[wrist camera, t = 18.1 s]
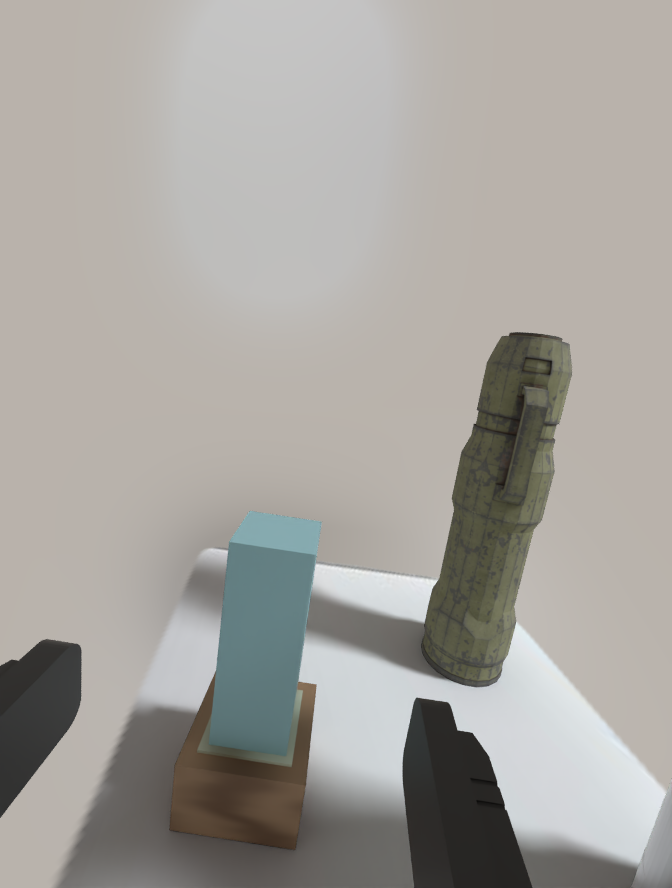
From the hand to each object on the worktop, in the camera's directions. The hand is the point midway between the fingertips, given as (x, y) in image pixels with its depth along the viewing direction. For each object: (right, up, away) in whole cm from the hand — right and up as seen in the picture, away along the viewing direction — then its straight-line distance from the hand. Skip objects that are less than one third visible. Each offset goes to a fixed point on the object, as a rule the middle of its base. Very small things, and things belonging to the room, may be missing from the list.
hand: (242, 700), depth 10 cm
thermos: (+16, -18, +37) cm, 44 cm away
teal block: (-3, -13, +19) cm, 23 cm away
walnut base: (-4, -18, +20) cm, 27 cm away
